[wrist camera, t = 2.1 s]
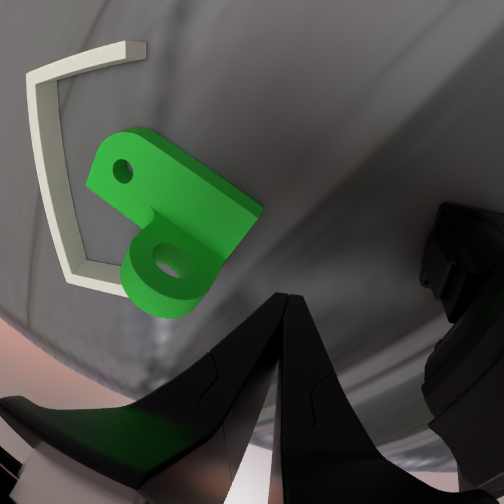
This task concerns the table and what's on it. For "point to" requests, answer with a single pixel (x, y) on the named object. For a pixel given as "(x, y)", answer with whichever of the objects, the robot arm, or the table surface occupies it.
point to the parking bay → (54, 167)
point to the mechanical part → (170, 219)
